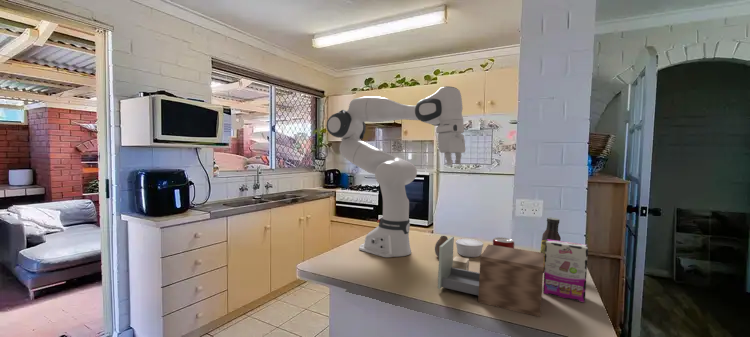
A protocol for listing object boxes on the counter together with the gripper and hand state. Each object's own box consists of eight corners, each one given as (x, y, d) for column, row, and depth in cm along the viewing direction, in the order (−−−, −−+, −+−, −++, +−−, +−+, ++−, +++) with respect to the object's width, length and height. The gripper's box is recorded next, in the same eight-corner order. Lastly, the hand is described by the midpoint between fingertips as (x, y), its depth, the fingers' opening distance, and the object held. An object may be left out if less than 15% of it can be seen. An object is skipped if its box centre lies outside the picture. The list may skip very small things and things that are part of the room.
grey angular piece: (437, 288, 99) (439, 246, 98) (449, 273, 111) (451, 236, 110) (489, 300, 91) (491, 255, 91) (496, 283, 104) (498, 243, 103)
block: (451, 273, 114) (451, 260, 114) (454, 269, 119) (455, 256, 118) (465, 276, 112) (466, 262, 112) (468, 272, 116) (469, 258, 116)
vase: (433, 259, 129) (434, 237, 129) (436, 253, 136) (436, 233, 135) (450, 261, 127) (451, 239, 127) (452, 256, 133) (453, 235, 133)
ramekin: (450, 253, 138) (450, 241, 137) (464, 248, 145) (464, 236, 145) (473, 260, 129) (474, 247, 129) (487, 254, 137) (488, 242, 137)
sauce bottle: (536, 270, 120) (539, 217, 119) (541, 266, 124) (544, 215, 123) (556, 275, 115) (559, 220, 114) (560, 271, 120) (563, 218, 119)
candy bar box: (584, 297, 99) (588, 244, 98) (585, 303, 94) (588, 248, 93) (543, 287, 104) (546, 238, 103) (542, 293, 100) (545, 241, 99)
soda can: (514, 277, 113) (516, 243, 112) (492, 274, 114) (494, 241, 114) (510, 269, 120) (512, 238, 119) (489, 267, 121) (491, 236, 121)
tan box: (478, 302, 93) (480, 256, 92) (486, 284, 105) (488, 244, 105) (540, 317, 85) (543, 267, 85) (541, 296, 98) (543, 253, 97)
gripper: (453, 131, 134) (455, 164, 134) (434, 128, 117) (436, 165, 117) (468, 129, 131) (470, 163, 131) (450, 125, 114) (453, 164, 114)
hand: (454, 164), depth 124 cm, fingers open, 8 cm apart
